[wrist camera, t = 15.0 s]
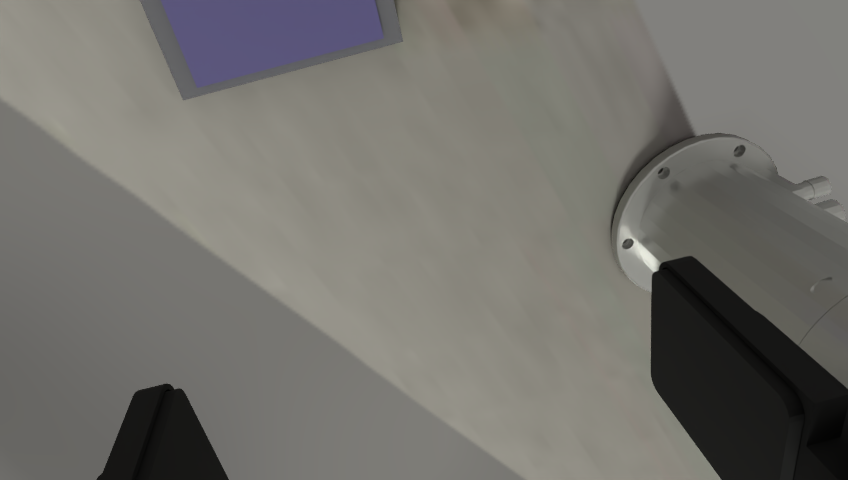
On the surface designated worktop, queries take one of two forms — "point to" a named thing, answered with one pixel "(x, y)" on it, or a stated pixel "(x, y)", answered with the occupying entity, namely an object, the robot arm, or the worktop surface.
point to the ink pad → (263, 37)
